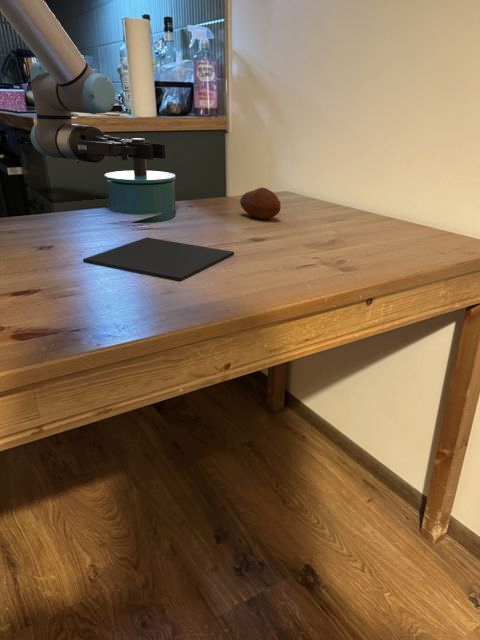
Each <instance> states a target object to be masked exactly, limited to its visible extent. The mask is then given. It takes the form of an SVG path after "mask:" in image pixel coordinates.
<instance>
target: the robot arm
mask: <svg viewBox="0 0 480 640" xmlns="http://www.w3.org/2000/svg"><path fill="white" fill-rule="evenodd" d="M0 13H1V14H2V16H3V17H4V18H5V19H6V21H8V23H9V24H10V25H11V27H12V28H13V29H14V31H15V32H16V33H17V34H18V35H19V37H20V39H22V41H23V43H24V44H25V45H26V46H27V47H28V48H29V50H30V51H31V53H32V54H33V55H34V56H35V58H36V59H37V60H38V61H39V62H32V63H31V64H30V65H29V76H30V86H31V92H32V98H33V103H34V108H35V115H36V123H35V124H33V126H32V128H31V131H30V141H31V145H32V146H33V148H34V149H35V150H36V151H37V152H38V153H39V154H41V155H44V156H47V157H51V158H54V159H56V158H57V159H65V160H66V159H67V160H73V161H75V163H76V164H80V163H81V161H82V162H84V163H85V162H86V163H92V164H93V163H94V164H95V163H100V162H102V161H103V160H104V158H105V157H113V158H117V157H121V161H128V158H131V159H133V158H140V159H146V160H150V161H153V160H154V159H159V160H160V159H161V160H165V159H166V144H164V143H156V142H150V141H147V140H145V144H138V143H132V140H131V139H129V138H126V137H125V138H121V137H115V136H114V137H113V136H111V135H106V134H105V133H104V132H103V131H102V130H101V129H100V128H99V127H97V126H94V125H86V124H85V125H84V124H76V123H73V118H72V117H73V116H72V113H79V114H80V113H81V114H90V115H97V114H98V115H99V114H107V113H109V112H110V111H111V110H112V109H113V107H114V106H115V104H116V100H117V91H116V88H115V84H114V83H113V81H112V80H111V79H110V77H108V76H106V74H103V73H100V72H97V71H96V72H95V71H94V70H93V69H92V67H91V66H90V65H89V63H88V62H87V61H86V59H85V58H84V56H83V55H82V53H81V52H80V50H79V49H78V48H77V46H76V45H75V44H74V42H73V40H72V39H71V38H70V36H69V34H68V33H67V32H66V30H65V29H64V28H63V26H62V24H61V23H60V21H59V20H58V19H57V17H56V15H55V14H54V13H53V11H52V10H51V9H50V7H49V6H48V4H47V3H46V2H45V0H0Z"/></svg>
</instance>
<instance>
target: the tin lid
mask: <svg viewBox="0 0 480 640" xmlns="http://www.w3.org/2000/svg"><path fill="white" fill-rule="evenodd" d="M130 140H132V143H138V144H145V141H146V138H140V137H139V138H136V137H135V138H131V139H130ZM132 165H133V170H119V171H111V172H106V173H104V175H103V176H104V179H105V180H106V181H107V180H110V181H115V182H117V183H122V184H136V185H146V184H161V183H165V182H167V181H172V180H174V181H175V180H176V179H177V175H176V174H175V173H171V172H167V171H158V170H148V169H147V159H140V158H132Z"/></svg>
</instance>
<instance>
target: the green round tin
mask: <svg viewBox="0 0 480 640" xmlns="http://www.w3.org/2000/svg"><path fill="white" fill-rule="evenodd" d="M106 181H107V193H108V200H109V202H108V203H109V208H110V210H111V211H113V212H116V213H121V214H126V215H127V214H128V215H130V214H131V215H153V216H150V217H146V218H143V219H139V220H135V221H132V222H131V224H152V223H162V222H167V221H171V220H173V219H175V218H176V214H177V210H176V208H177V206H176V188H175V187H176V186H175V185H176V184H175V182H176V181H175V180H172V181H167V182H165V183H161V184H146V185H136V184H122V183H117V182H115V181H110V180H106ZM155 214H157V215H155Z"/></svg>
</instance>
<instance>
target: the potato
mask: <svg viewBox="0 0 480 640" xmlns="http://www.w3.org/2000/svg"><path fill="white" fill-rule="evenodd" d="M239 204H240V206H241V208H242V209H243V210H244V212H246V214H247V215H249V216H251V217H254V218H257V219H259V220H266V219H271V218H273V217H275V216H278V214H280V212H281V208H282V206H281V201H280V200H279V197H278V195H276V193H274V192H273V191H272V190H270V189H268V188H266V187H258V188H256V189H253V190H250V191H247V192H245V193H244V194H242V196H241V197H240V200H239Z"/></svg>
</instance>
